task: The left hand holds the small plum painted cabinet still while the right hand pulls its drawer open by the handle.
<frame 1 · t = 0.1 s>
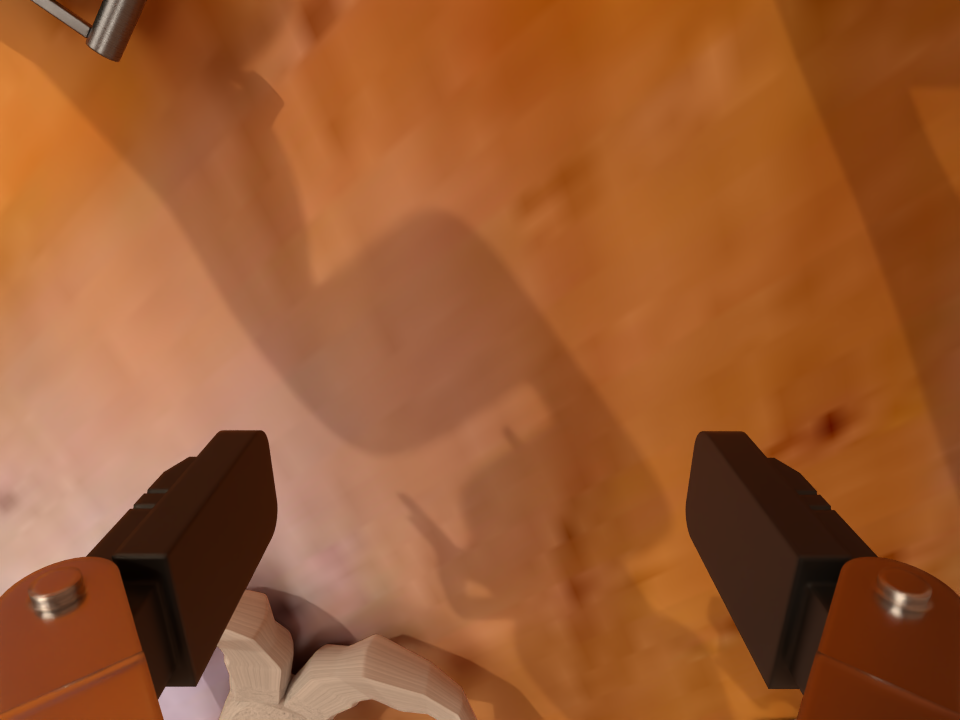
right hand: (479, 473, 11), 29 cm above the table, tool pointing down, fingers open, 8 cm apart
beige irregular branched piece: (282, 680, 53), on the table
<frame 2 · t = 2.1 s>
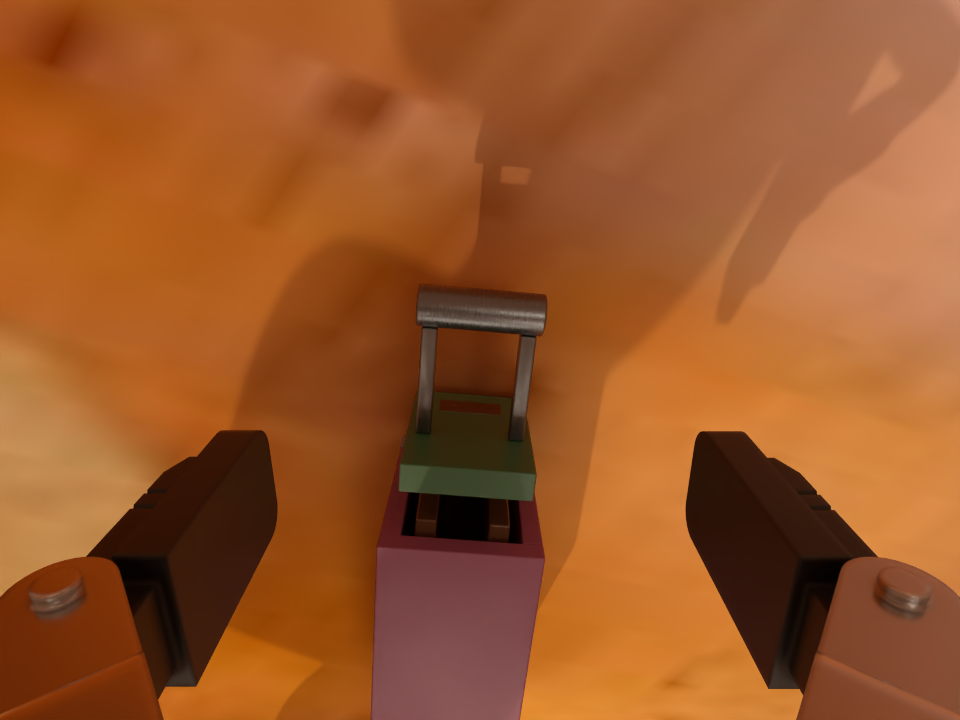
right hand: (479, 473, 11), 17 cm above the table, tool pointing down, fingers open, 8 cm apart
cabinet: (453, 573, 33), on the table
drawer: (460, 519, 26), point 4 cm above the table, slide at 1.8 cm
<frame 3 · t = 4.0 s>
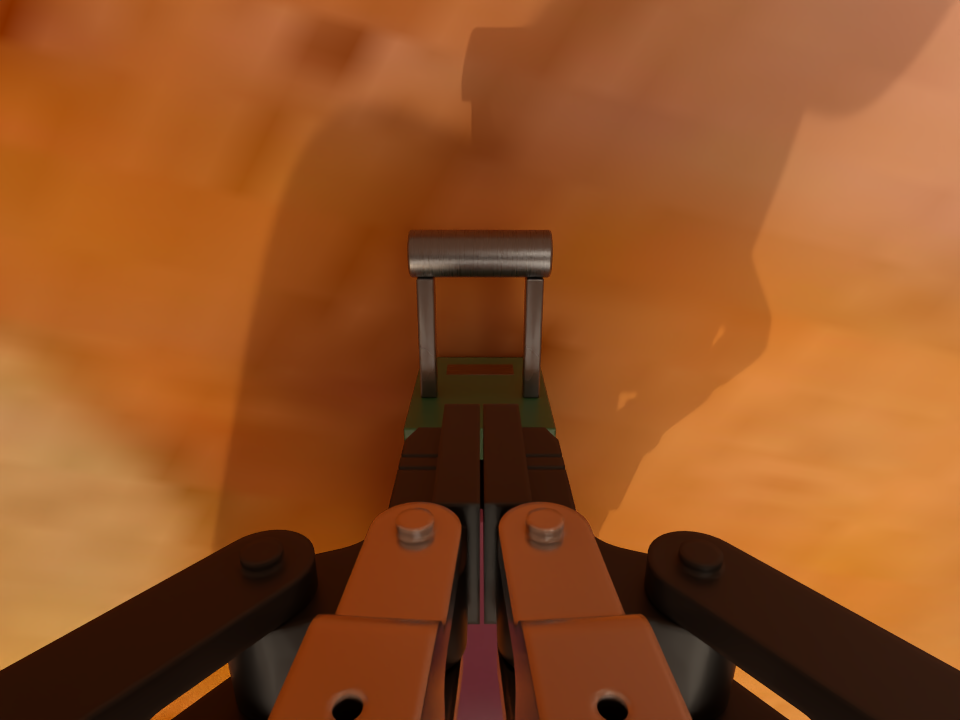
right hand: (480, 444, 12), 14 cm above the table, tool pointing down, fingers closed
cabinet: (480, 555, 31), on the table, touching left hand
drawer: (479, 492, 24), point 4 cm above the table, slide at 1.8 cm
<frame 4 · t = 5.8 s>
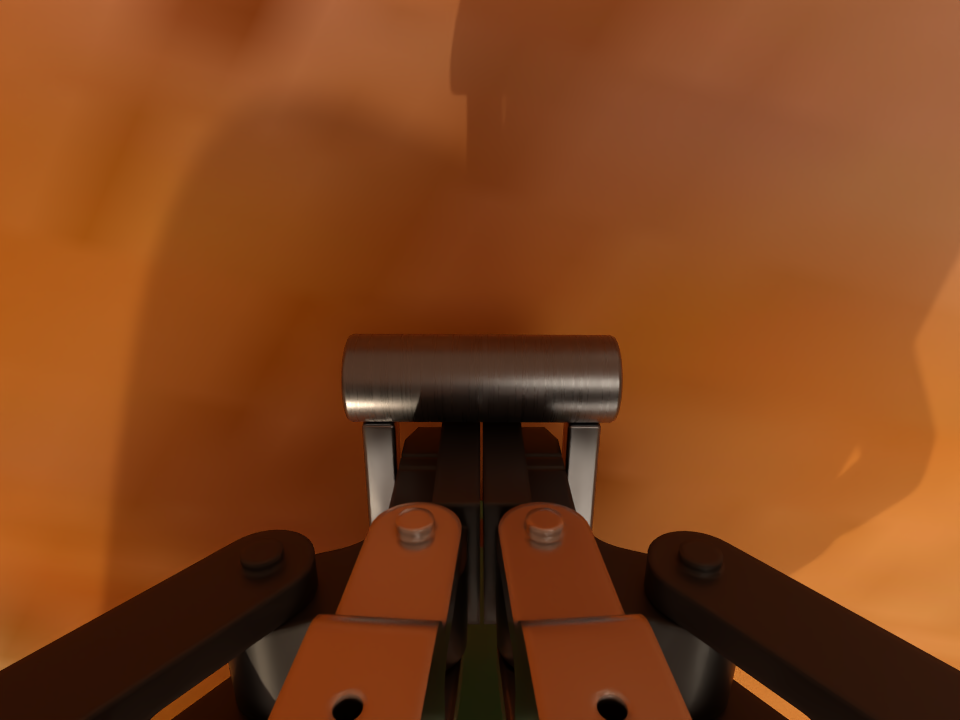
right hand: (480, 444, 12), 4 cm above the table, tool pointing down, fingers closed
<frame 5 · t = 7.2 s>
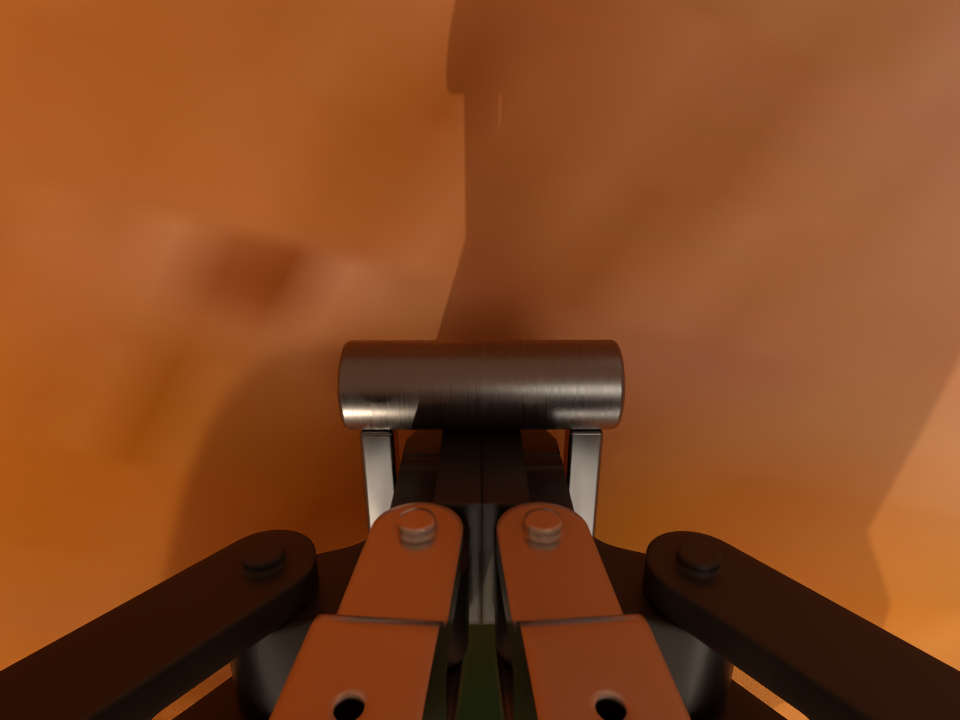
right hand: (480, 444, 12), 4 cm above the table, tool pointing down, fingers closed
when the left hand's fingers open (5 cm above the table, at t = 9.1 s): cabinet stays where it is, on the table.
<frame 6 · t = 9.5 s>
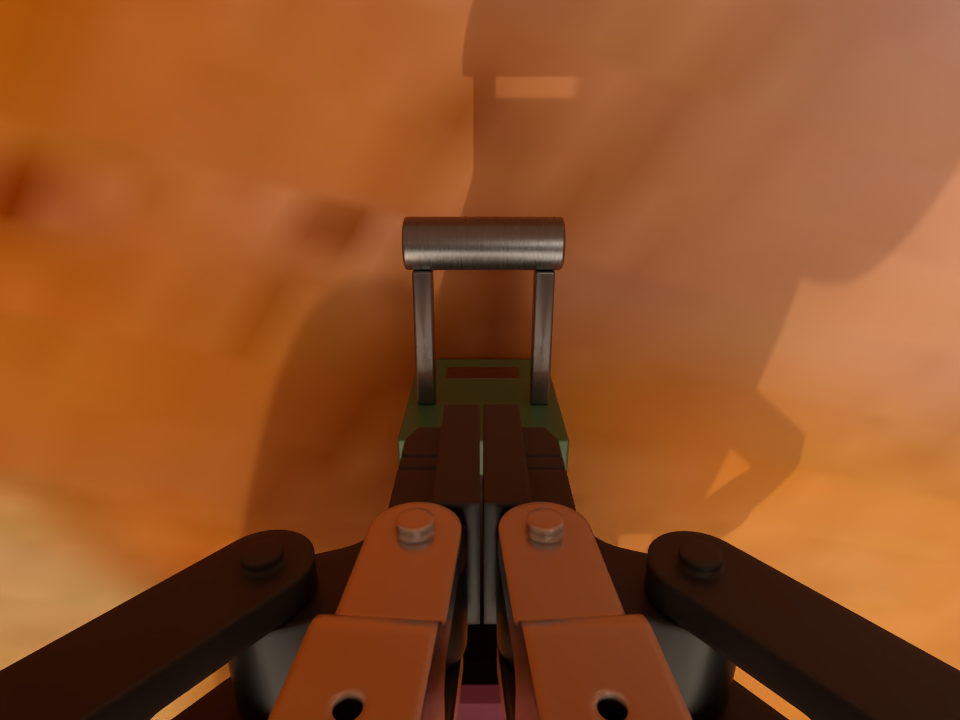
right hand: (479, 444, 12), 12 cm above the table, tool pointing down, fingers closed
cabinet: (481, 673, 31), on the table
drawer: (482, 507, 22), point 4 cm above the table, slide at 8.2 cm
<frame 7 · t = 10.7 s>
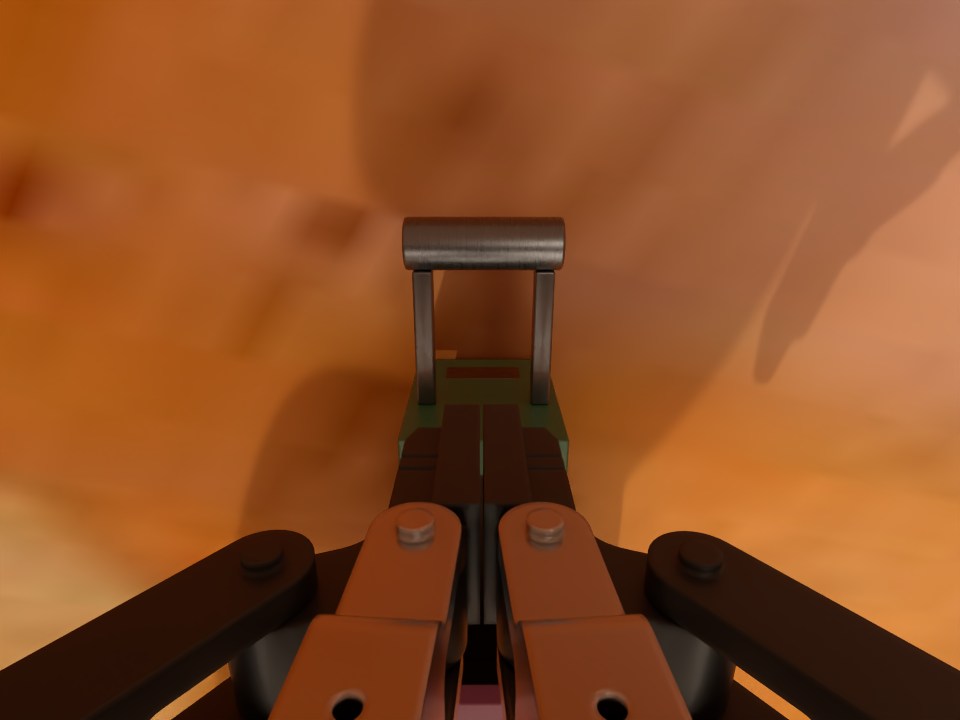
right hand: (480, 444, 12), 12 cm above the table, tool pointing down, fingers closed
cabinet: (481, 673, 31), on the table
drawer: (482, 507, 22), point 4 cm above the table, slide at 8.2 cm
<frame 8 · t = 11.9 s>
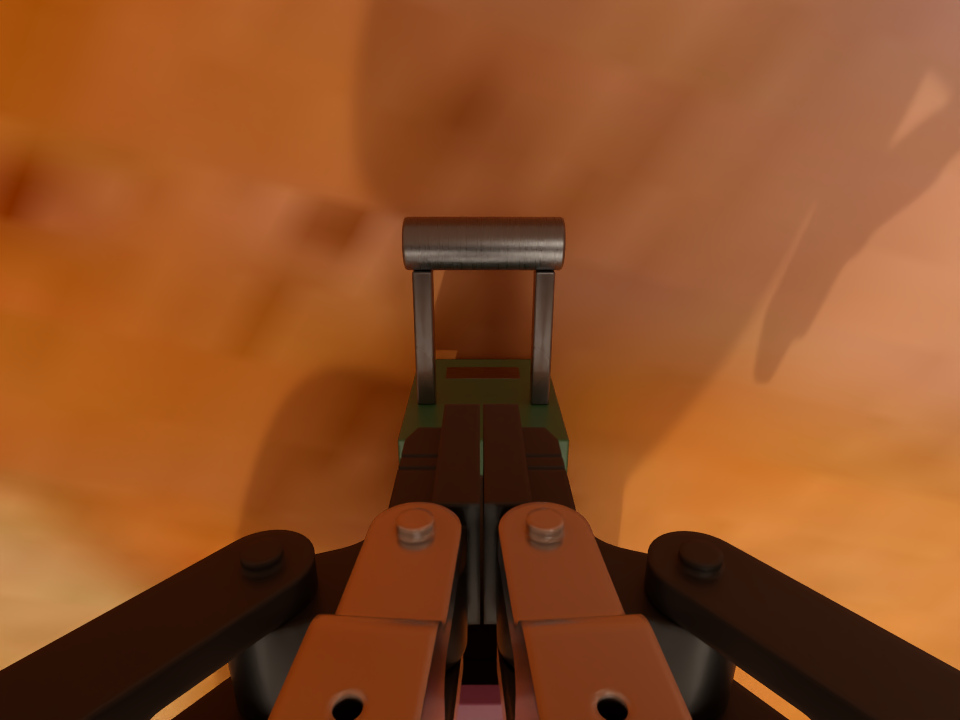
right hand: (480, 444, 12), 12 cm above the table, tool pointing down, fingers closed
cabinet: (481, 673, 31), on the table
drawer: (482, 507, 22), point 4 cm above the table, slide at 8.2 cm
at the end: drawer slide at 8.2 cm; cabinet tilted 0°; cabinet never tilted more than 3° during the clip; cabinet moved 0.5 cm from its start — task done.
